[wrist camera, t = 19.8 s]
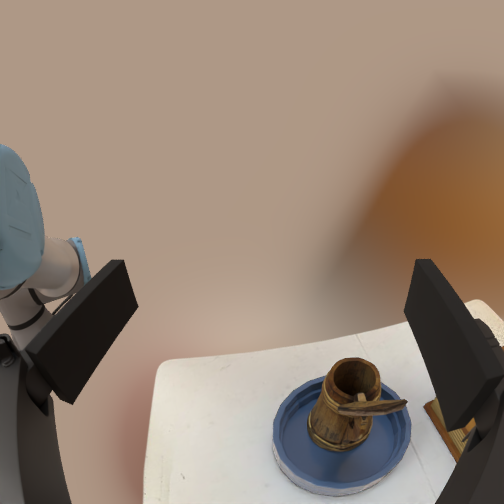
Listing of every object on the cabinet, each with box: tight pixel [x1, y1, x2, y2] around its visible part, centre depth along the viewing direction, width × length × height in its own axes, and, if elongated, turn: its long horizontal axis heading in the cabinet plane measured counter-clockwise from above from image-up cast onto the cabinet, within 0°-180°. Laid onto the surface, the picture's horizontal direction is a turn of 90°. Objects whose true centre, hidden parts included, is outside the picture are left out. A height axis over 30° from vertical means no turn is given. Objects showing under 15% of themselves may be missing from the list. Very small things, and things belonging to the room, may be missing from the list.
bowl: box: [273, 376, 411, 496], centre depth 29 cm, size 18×18×4 cm
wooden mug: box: [307, 358, 408, 452], centre depth 26 cm, size 9×14×18 cm, turn 173°
